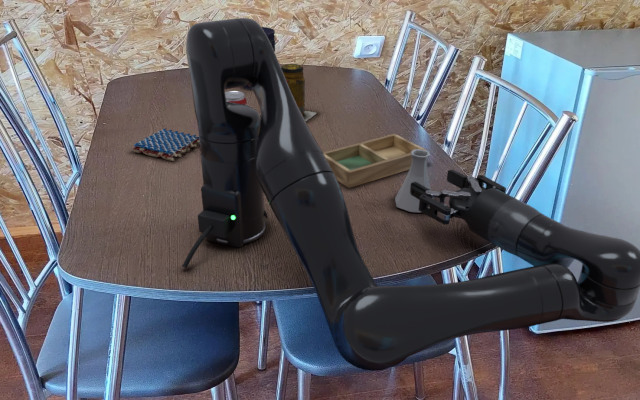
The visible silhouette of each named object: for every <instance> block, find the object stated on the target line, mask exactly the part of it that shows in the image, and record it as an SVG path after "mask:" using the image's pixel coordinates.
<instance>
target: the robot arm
mask: <svg viewBox="0 0 640 400" xmlns="http://www.w3.org/2000/svg"><path fill="white" fill-rule="evenodd" d="M262 27H263V26H261V25H260V24H259V23H258V22H257V21H256V20H254V19H252V18H247V17H239V18H238V17H237V18H229V19H228V18H227V19H220V20H219V19H218V20H211V21H203V22H197V23H194V24H193V25H191V26H190V28H189V29H188V31H187V34H186V40H185V50H186V51H185V53H186V61H187V68H188V73H189V78H190V79H189V80H190V87H191V93H192V102H193V108H194V109H193V110H194V114H195V119H196V122H197V129H198V130H197V131H198V137H199V142H200V143H199V152H200V162H201V173H202V183H203V185H202V186H201V187H200V193H201V202H202V211H200V213H198V214H197V222H198V223H197V224H198V231H199V233H201V235H200V236H199V237H198V238H197V240H196V242H195V243H194V244H193V246H192V247H191V249H190V250H189V252H188V254H187V256H186V258H185V260H184V261H183V264H182V265H181V267H182V268H184V269H187V268H188V266H189V264H190V262H191V261H192V258H193V257H194V255H195V254H196V252H197V250H198V248H199V247H200V246H201V244H202V243H203V241H204V240H206V241H210V242H214V243H219V244H221V245H222V244H223V245H226V246H231V247H235V248H242V246H243V245H245V244H249V243H252V242H254V241H257V240H259V239H260V238H261V237H262V236H263V235H264V234H265V232H266V221H265V220H266V219H268V213H267V211H266V210H265V199H266V200H267V202H268V204H269V206H270V209H271V210H272V212H273V214H274V216H275V218H276V220H277V221H278V223H279V225H280V227H281V229H282V231H283V233H284V234H285V236H286V239H287V240H288V242H289V244H290V245H291V248H292V249H293V251H294V252H295V254H296V256H297V258H298V259H299V261H300V263H301V264H302V266H303V268H304V271H306V274H307V275H308V278H309V279H310V282H311V285H312V287H313V289H314V291H315V294H316V297H317V300H318V302H319V305H320V307H321V310H322V312H323V316H324V318H325V320H326V323H327V326H328V330H329V332H330V335H331V338H332V340H333V343H334V345H335V348H336V350H337V351H338V353H339V355H340V357H342V359H343V360H344V361H345V362H347V363H348V364H350V365H351V366H353V367H356V368H358V369H360V370H364V371H370V372H371V371H372V372H376V371H383V370H386V369H389V368H392V367H396V366H397V365H399V364H401V363H402V362H404V361H405V360H406V359H408V358H409V357H411V356H413V355H416V354H418V353H420V352H423V351H426V350H427V349H430V348H432V347H435V346H437V345H439V344H443V343H444V342H448V341H451V340H454V339H458V338H462V337H465V336H470V335H475V334H476V335H477V334H484V333H494V332H503V331H512V330H519V329H524V328H525V329H526V328H530V327H534V326H538V325H544V324H547V323H552V322H557V321H561V320H570V321H586V322H596V323H597V322H601V323H610V322H611V323H612V322H615V321H616V322H617V321H619V320H621V319H623V318H625V317H626V316H628V315H630V313H631V312H632V311H633V310H634V308H635V306H636V303H637V300H638V298H639V293H640V249H639V248H638V247H637V246H636V245H634V244H633V243H631V242H629V241H627V240H624V239H623V238H618V237H615V236H608V235H603V234H599V233H594V232H590V231H586V230H581V229H577V228H573V227H570V226H566V225H565V224H563V223H562V222H559V221H558V220H555V219H554V218H551V217H549V216H547V215H545V214H543V213H542V212H540V211H539V210H538V209H536V208H535V207H533V206H531V205H530V204H527V203H525V202H524V201H522V200H520V199H518V198H515V197H514V196H512V195H510V194H508V193H506V192H507V187H506V186H503V184H500V183H498V182H496V181H494V180H493V179H490V178H489V177H487V176H485V175H483V174H478V175H477V176H476V177H475V176H472V175H468V176H466V175H465V174H463V173H460V172H459V171H457V170H455V169H449V170H447V174H446V181H447V182H448V183H450V184H451V185H453V186H455V187H457V188H459V189H458V190H454V191H453V190H447V189H442V190H440V191H437V190H432V189H431V190H430V189H428V188H426V187H424V186H423V185H421V184H419V183H417V182H413V183H411V187H410V194H411V195H412V196H414V197H416V198H417V199H419V200H420V201H419V209H418V210H419V211H420V212H419V213H422V214H424V215H426V216H428V217H430V218H431V219H433V220H435V221H437V222H439V223H440V224H441V225H444V226H445V225H449V224H450V221H451V219H452V218H457V219H461V220H463V221H465V223H466V225H467V226H468V228H469V230H470V231H471V232H472V233H474V234H476V235H477V236H479V237H480V238H483V239H484V240H486V241H488V242H489V243H490V244H493V245H494V246H496V247H498V248H499V249H501V250H502V251H504V252H506V253H508V254H511V255H513V256H515V257H517V258H520V259H521V260H523V261H524V262H525V263H528V264H529V265H531V266H527V267H523V268H518V269H514V270H508V271H505V272H500V273H495V274H491V275H487V276H482V277H478V278H473V279H468V280H462V281H455V282H448V283H436V284H422V285H421V284H419V285H418V284H417V285H378V284H377V283H376V281H375V279H374V277H373V276H372V274H371V272H370V271H369V268H368V267H367V265H366V264H365V262H364V259H363V258H362V255H361V253H360V250H359V247H358V245H357V241H356V238H355V234H354V230H353V226H352V222H351V217H350V214H349V210H348V206H347V203H346V199H345V196H344V193H343V191H342V187H341V186H340V184H339V183H340V182H339V181H337V179H336V176H335V174H334V172H333V171H332V169H331V167H330V165H329V163H328V161H327V159H326V157H325V156H324V154H323V152H324V151H323V150H322V149H321V146H320V145H319V144H318V141H317V140H316V139H315V137H314V134H313V133H312V131H311V129H310V127H309V125H308V124H307V121H305V120H304V118H303V116H302V114H301V112H300V110H299V108H298V106H297V104H296V102H295V99H294V97H293V95H292V93H291V91H290V88H289V86H288V84H287V81H286V79H285V77H284V74H283V72H282V69H281V67H282V66H281V64H280V62H279V60H278V57H277V54H276V51H275V52H274V50H273V48H272V45H271V43H270V41H269V39H268V37H267V35H266V33H265V32H264V30H263V29H262ZM247 85H248V86H249V87H250V88H251V89H252V90H251V91H252V92H253V94H254V96H255V98H256V100H257V103H258V106H259V110H260V113H259V111H258V110H256V109H255V108H253V107H251V106H249V105H247V106H246V105H243V104H238V103H232V102H228V101H226V96H225V92H226V90H229V89H235V88H243V87H242V86H247ZM484 185H485V186H484ZM264 196H265V197H264ZM264 198H265V199H264ZM432 198H433V199H432ZM435 198H437V199H439V201H438V200H436V199H435ZM446 198H448V204H447V203H445V202H446ZM427 207H430V209H429V208H427ZM265 218H266V219H265ZM574 261H578V262H579V263H581V264H582V266H581V268H580V272H579V275H578V276H579V277H578V280H577V278H576V276H575V275H574V273H573V272H572V271H571V270H570V269H569V267H570V266H571V265H572V264H573V262H574Z"/></svg>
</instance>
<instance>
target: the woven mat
mask: <svg viewBox="0 0 640 400" xmlns="http://www.w3.org/2000/svg"><path fill="white" fill-rule="evenodd" d="M198 145H200V142H199V136H197V135H196V134H193V135H191V133H185V132H182V131H181V132H179V131H178V130H175V131H173V129H169V130H168V129H167V128H163V129H161V130H157V132H154V133H153V134H151V135H148V137H144V138H143V139H142V140H139V141H137V142H135V143H134V146H133V148H132V149H133V152H134V153H138V154H140V153H142V154H144V155H146V156H149V157H153V158H162V159H163V160H166V161H170V162H174V161H175V159H176V158H177V157H178V158H182V154H186V153H187V152H190V151H191V148H195V149H197V147H198Z"/></svg>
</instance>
